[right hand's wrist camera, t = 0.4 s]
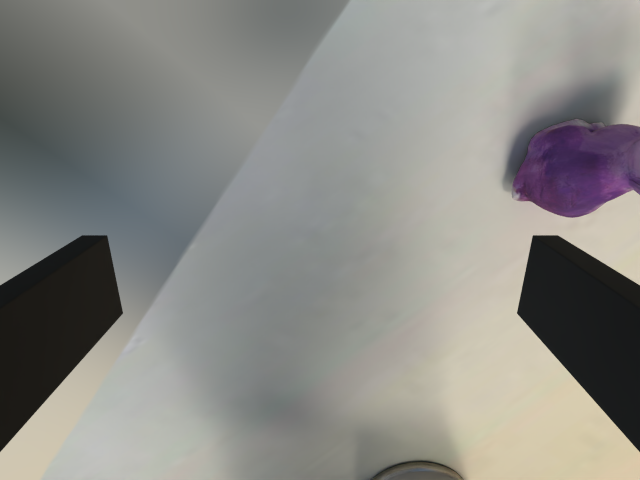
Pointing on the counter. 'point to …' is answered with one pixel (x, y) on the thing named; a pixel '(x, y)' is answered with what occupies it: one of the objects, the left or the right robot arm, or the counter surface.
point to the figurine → (579, 167)
